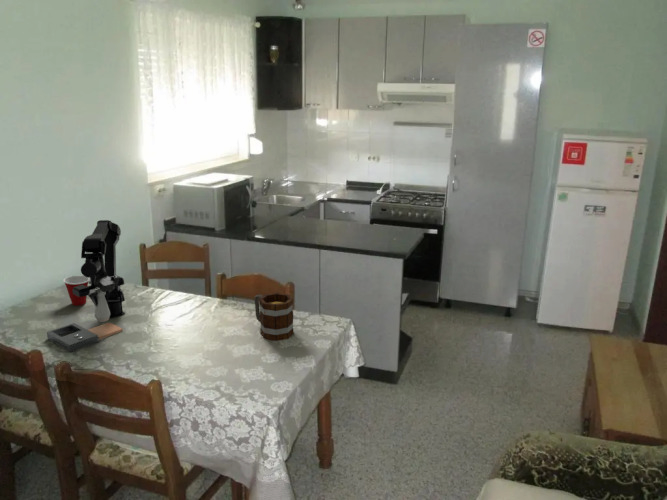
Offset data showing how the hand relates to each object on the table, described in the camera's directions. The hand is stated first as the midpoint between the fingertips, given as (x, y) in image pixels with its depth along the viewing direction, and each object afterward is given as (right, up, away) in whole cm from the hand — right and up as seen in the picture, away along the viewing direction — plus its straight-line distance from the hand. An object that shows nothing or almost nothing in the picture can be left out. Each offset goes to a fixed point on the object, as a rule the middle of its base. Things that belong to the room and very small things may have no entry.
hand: (101, 306), depth 216 cm
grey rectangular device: (-9, -13, -5) cm, 17 cm away
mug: (+67, -11, +5) cm, 68 cm away
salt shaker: (0, -6, +2) cm, 6 cm away
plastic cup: (-23, -2, +32) cm, 40 cm away
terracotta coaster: (0, -11, +3) cm, 11 cm away
